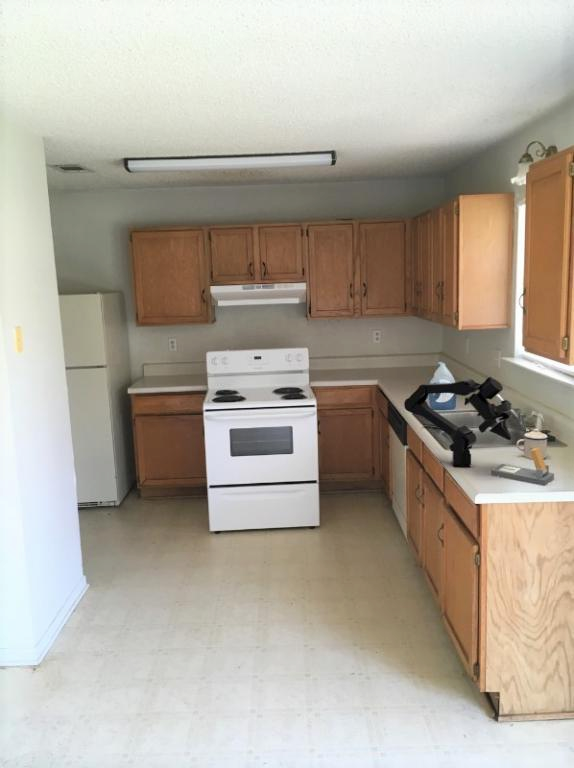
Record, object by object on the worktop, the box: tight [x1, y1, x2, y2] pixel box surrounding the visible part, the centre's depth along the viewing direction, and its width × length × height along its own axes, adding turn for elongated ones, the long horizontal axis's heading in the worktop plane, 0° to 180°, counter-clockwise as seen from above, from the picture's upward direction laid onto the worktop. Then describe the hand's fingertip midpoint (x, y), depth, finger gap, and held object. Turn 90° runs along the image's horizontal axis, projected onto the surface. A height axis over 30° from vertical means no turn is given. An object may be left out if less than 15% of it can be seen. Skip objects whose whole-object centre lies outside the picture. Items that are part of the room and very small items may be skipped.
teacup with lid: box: [515, 428, 549, 460], centre depth 257 cm, size 12×9×12 cm
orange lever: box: [530, 448, 547, 475], centre depth 228 cm, size 2×4×10 cm, turn 139°
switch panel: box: [490, 463, 555, 486], centre depth 232 cm, size 20×10×5 cm, turn 49°
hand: (510, 439), depth 234 cm, fingers closed
